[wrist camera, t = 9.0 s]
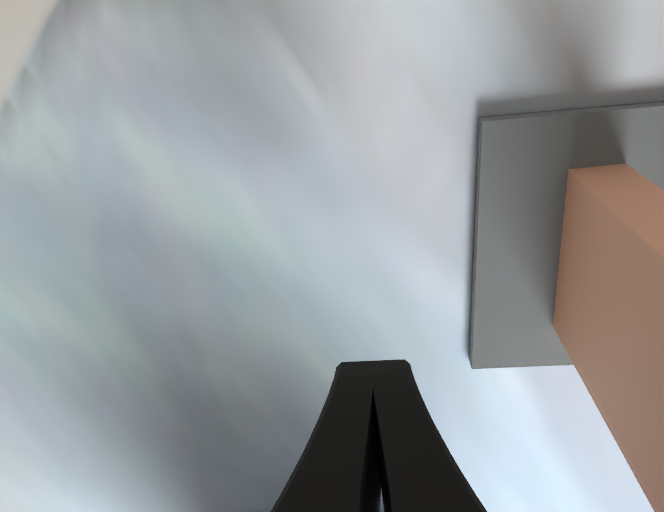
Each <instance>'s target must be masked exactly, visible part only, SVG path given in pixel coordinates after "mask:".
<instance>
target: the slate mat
mask: <svg viewBox="0 0 664 512" xmlns="http://www.w3.org/2000/svg"><path fill="white" fill-rule="evenodd" d="M625 163H626V164H627V165H629V166H630V167H631V168H633V169H634V170H636V171H637V172H639V173H640V174H641V175H643V176H644V177H646V178H647V179H648V180H650V181H651V182H653V183H654V184H655V185H657V186H658V187H660V188H661V189H663V190H664V101H663V102H652V103H640V104H629V105H617V106H606V107H594V108H583V109H571V110H560V111H548V112H537V113H525V114H514V115H502V116H491V117H479V134H478V159H477V184H476V209H475V234H474V259H473V284H472V309H471V334H470V359H469V361H470V364H471V368H472V369H482V368H506V367H530V366H553V365H574V364H573V362H572V360H571V358H570V357H569V355H568V353H567V351H566V349H565V347H564V346H563V344H562V342H561V340H560V338H559V337H558V335H557V333H556V331H555V329H554V327H553V318H554V308H555V298H556V288H557V278H558V268H559V258H560V248H561V238H562V228H563V218H564V208H565V198H566V188H567V178H568V169H577V168H587V167H596V166H606V165H616V164H625Z"/></svg>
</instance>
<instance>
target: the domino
mask: <svg viewBox="0 0 664 512" xmlns="http://www.w3.org/2000/svg"><path fill="white" fill-rule="evenodd" d="M553 327H554V329H555V331H556V333H557V335H558V337H559V338H560V340H561V342H562V344H563V346H564V347H565V349H566V351H567V353H568V355H569V357H570V358H571V360H572V362H573V364H574V366H575V368H576V369H577V371H578V373H579V375H580V377H581V378H582V380H583V382H584V384H585V386H586V388H587V389H588V391H589V393H590V395H591V397H592V399H593V400H594V402H595V404H596V406H597V408H598V409H599V411H600V413H601V415H602V417H603V419H604V420H605V422H606V424H607V426H608V428H609V430H610V431H611V433H612V435H613V437H614V439H615V440H616V442H617V444H618V446H619V448H620V450H621V451H622V453H623V455H624V457H625V459H626V461H627V462H628V464H629V466H630V468H631V470H632V471H633V473H634V475H635V477H636V479H637V481H638V482H639V484H640V486H641V488H642V490H643V492H644V493H645V495H646V497H647V499H648V501H649V503H650V504H651V506H652V508H653V510H654V512H664V190H663V189H661V188H660V187H658V186H657V185H655V184H654V183H653V182H651V181H650V180H648V179H647V178H646V177H644V176H643V175H641V174H640V173H639V172H637V171H636V170H634V169H633V168H631V167H630V166H629V165H627V164H626V163H625V164H616V165H606V166H596V167H587V168H577V169H568V178H567V188H566V198H565V208H564V218H563V228H562V238H561V248H560V258H559V268H558V278H557V288H556V298H555V308H554V318H553Z"/></svg>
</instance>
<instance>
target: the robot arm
mask: <svg viewBox="0 0 664 512" xmlns="http://www.w3.org/2000/svg"><path fill="white" fill-rule="evenodd" d="M381 489H382V497H383V504H384V512H487V511H486V509H485V508H484V506H483V505H482V503H481V502H480V500H479V499H478V497H477V496H476V494H475V493H474V491H473V489H472V488H471V486H470V485H469V483H468V481H467V480H466V478H465V477H464V475H463V474H462V472H461V470H460V469H459V467H458V465H457V464H456V462H455V460H454V458H453V457H452V455H451V453H450V452H449V450H448V448H447V446H446V444H445V442H444V441H443V439H442V437H441V435H440V433H439V431H438V430H437V428H436V426H435V424H434V422H433V420H432V418H431V416H430V414H429V412H428V410H427V408H426V405H425V403H424V401H423V399H422V397H421V394H420V392H419V390H418V387H417V385H416V382H415V379H414V376H413V373H412V370H411V366H410V364H409V363H408V362H407V361H406V360H382V361H359V362H342V363H340V364H339V365H338V366H337V367H336V372H335V376H334V379H333V382H332V385H331V388H330V391H329V394H328V397H327V399H326V402H325V404H324V407H323V409H322V412H321V414H320V417H319V419H318V421H317V424H316V426H315V428H314V430H313V432H312V434H311V437H310V439H309V441H308V443H307V445H306V448H305V450H304V452H303V454H302V456H301V458H300V460H299V461H298V463H297V465H296V467H295V469H294V471H293V473H292V475H291V476H290V478H289V480H288V482H287V484H286V486H285V488H284V489H283V491H282V493H281V495H280V497H279V498H278V500H277V502H276V504H275V505H274V507H273V509H272V510H271V512H380V497H381Z"/></svg>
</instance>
